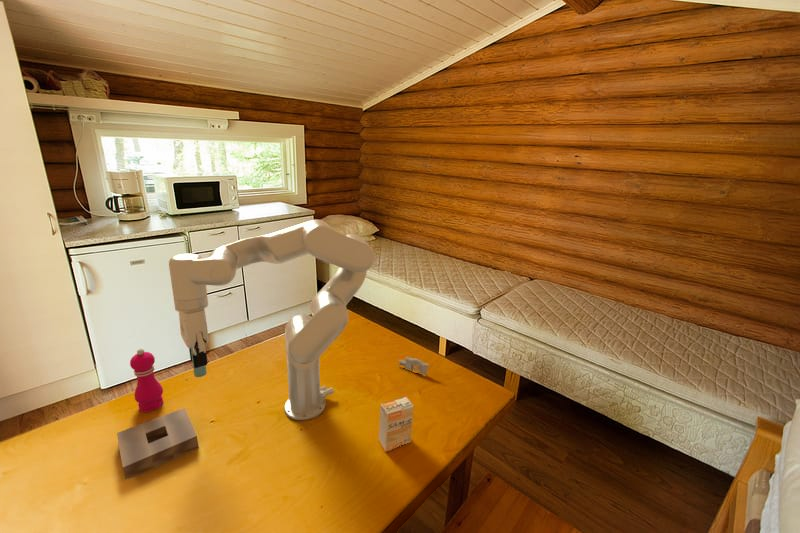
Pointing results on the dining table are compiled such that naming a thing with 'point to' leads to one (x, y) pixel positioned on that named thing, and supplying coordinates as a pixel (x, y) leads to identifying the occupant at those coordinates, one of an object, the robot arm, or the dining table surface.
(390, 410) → the supplement box
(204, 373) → the teal peg
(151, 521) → the dining table surface
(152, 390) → the pepper mill
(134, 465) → the walnut hole block
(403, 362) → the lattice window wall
